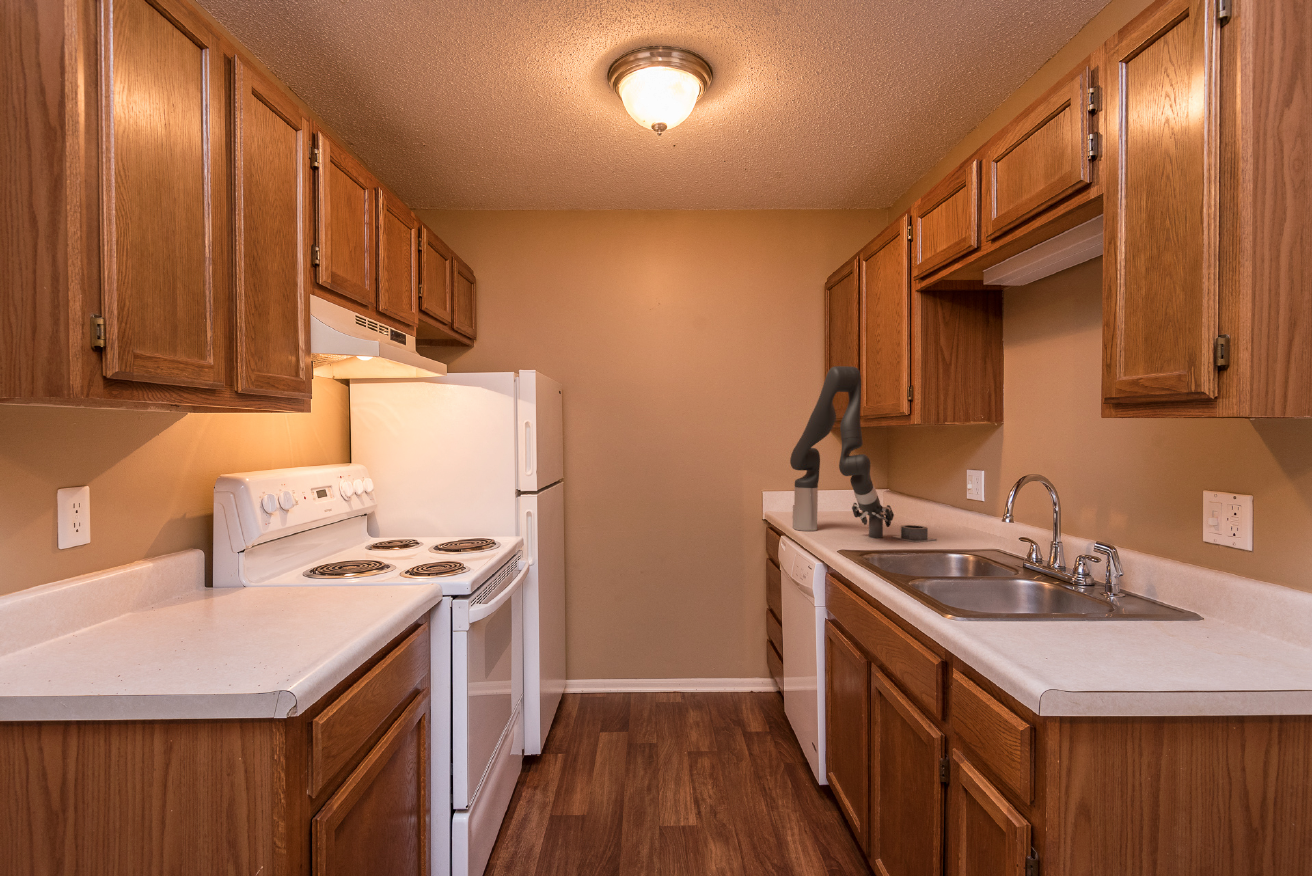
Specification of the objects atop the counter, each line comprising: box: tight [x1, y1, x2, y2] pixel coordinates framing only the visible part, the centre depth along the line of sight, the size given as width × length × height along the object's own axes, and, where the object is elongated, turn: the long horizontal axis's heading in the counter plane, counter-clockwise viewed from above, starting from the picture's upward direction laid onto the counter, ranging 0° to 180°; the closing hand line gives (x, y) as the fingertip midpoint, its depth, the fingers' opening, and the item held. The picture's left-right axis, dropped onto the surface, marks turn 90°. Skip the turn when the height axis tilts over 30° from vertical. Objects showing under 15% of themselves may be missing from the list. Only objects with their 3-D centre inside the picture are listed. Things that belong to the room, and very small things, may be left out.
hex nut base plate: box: [891, 524, 938, 543], centre depth 233 cm, size 11×11×4 cm
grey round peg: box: [868, 513, 884, 539], centre depth 236 cm, size 5×5×10 cm
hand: (877, 524), depth 237 cm, fingers open, 8 cm apart
